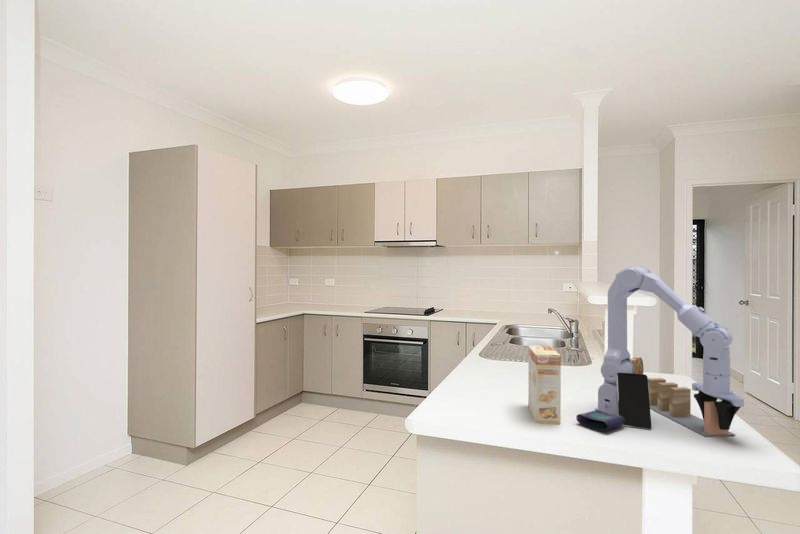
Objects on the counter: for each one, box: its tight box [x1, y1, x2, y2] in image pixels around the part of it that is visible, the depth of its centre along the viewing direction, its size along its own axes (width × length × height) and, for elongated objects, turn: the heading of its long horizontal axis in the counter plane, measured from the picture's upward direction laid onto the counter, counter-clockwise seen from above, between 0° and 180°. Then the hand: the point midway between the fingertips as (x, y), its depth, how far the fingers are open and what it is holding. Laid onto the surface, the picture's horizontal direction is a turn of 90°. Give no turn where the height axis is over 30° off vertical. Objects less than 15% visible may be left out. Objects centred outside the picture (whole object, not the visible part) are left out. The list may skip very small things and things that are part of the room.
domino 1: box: [647, 377, 667, 406], centre depth 137 cm, size 2×5×8 cm, turn 94°
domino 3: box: [669, 386, 692, 417], centre depth 126 cm, size 2×5×8 cm, turn 95°
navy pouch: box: [575, 410, 625, 432], centre depth 119 cm, size 9×3×11 cm
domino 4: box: [704, 400, 729, 435], centre depth 113 cm, size 2×5×8 cm, turn 94°
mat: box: [650, 405, 737, 438], centre depth 129 cm, size 34×8×1 cm, turn 4°
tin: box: [630, 357, 644, 375], centre depth 167 cm, size 15×3×8 cm, turn 139°
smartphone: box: [616, 373, 652, 430], centre depth 121 cm, size 8×1×15 cm
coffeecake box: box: [527, 344, 562, 425], centre depth 128 cm, size 15×7×20 cm, turn 171°
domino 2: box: [657, 381, 679, 411], centre depth 131 cm, size 2×5×8 cm, turn 95°
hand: (716, 425), depth 113 cm, fingers open, 5 cm apart
